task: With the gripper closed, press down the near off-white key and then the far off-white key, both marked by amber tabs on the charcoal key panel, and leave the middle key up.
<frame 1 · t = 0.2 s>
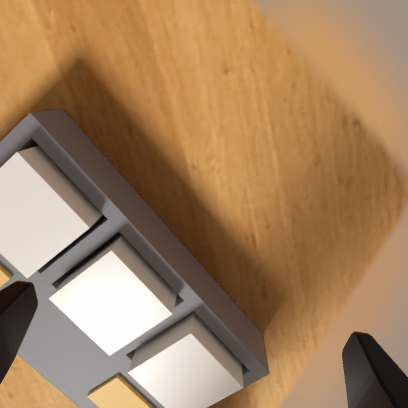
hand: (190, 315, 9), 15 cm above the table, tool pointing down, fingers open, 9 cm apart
key panel: (107, 281, 27), on the table
key middle: (116, 294, 22), point 4 cm above the table, slide at 0.0 cm
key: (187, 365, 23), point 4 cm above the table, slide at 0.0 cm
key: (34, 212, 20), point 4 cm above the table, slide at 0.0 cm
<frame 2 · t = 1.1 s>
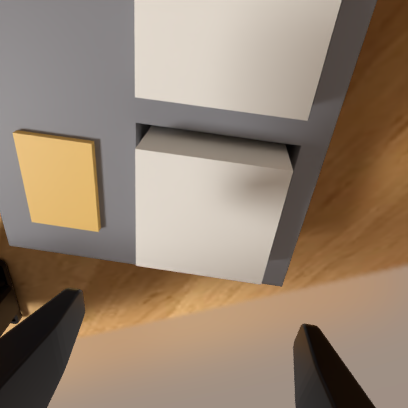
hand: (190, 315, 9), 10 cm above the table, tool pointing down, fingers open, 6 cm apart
key middle: (235, 7, 10), point 4 cm above the table, slide at 0.0 cm
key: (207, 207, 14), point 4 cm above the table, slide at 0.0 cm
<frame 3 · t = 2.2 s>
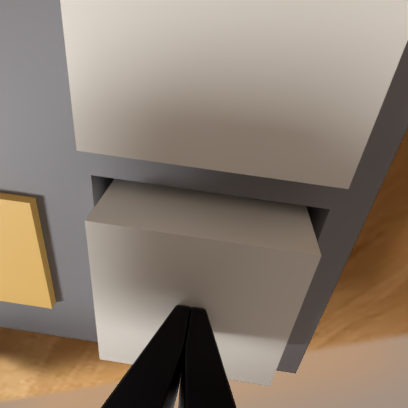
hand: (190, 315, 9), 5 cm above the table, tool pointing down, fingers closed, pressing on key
key middle: (233, 9, 6), point 4 cm above the table, slide at 0.0 cm
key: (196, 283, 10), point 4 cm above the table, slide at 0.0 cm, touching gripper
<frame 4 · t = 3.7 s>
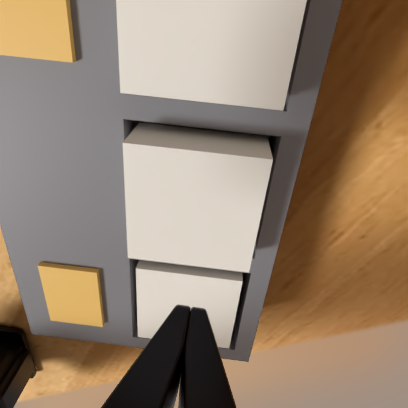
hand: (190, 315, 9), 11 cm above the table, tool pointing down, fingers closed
key panel: (153, 155, 18), on the table
key middle: (195, 199, 15), point 4 cm above the table, slide at 0.0 cm
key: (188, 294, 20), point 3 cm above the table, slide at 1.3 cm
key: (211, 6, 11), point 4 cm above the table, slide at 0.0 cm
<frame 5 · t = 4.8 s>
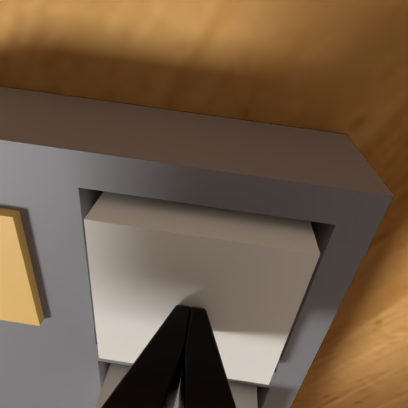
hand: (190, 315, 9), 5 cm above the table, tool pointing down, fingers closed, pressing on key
key panel: (137, 326, 17), on the table
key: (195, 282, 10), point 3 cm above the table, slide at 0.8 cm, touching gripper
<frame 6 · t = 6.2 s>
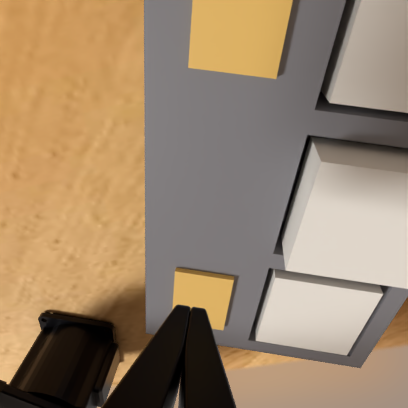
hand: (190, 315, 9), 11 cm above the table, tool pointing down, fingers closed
key panel: (288, 163, 18), on the table
key middle: (361, 214, 15), point 4 cm above the table, slide at 0.0 cm
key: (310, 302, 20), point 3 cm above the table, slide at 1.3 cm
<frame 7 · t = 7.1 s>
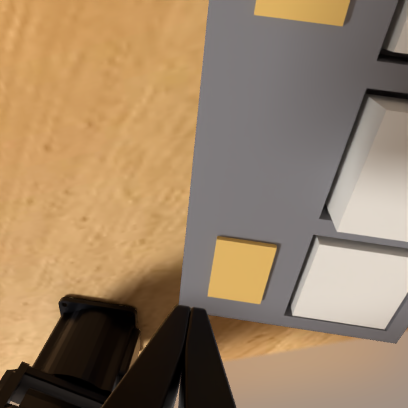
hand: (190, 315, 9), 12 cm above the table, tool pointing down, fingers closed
key panel: (328, 131, 18), on the table
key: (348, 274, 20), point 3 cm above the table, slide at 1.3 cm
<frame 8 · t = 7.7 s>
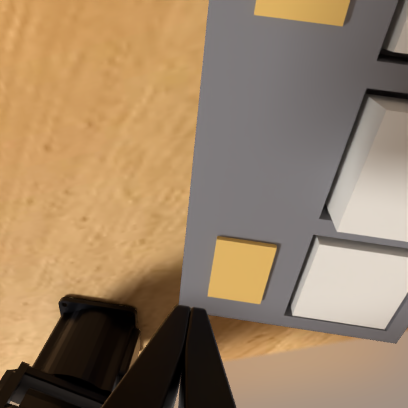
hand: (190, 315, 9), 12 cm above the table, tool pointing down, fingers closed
key panel: (328, 131, 18), on the table
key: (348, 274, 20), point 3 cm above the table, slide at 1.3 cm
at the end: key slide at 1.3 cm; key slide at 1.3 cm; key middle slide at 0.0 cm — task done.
